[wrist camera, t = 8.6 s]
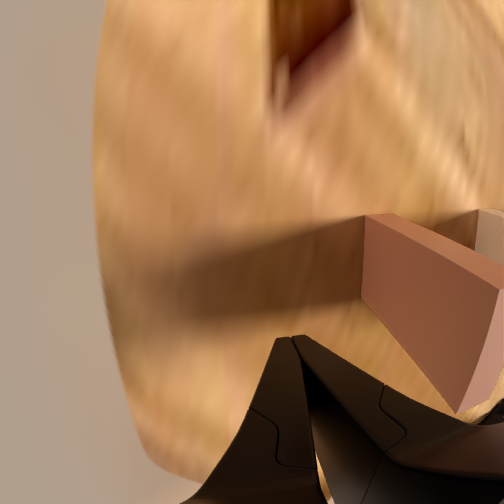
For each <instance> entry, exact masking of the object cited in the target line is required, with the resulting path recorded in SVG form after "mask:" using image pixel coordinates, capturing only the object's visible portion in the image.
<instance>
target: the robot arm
mask: <svg viewBox="0 0 504 504" xmlns="http://www.w3.org/2000/svg"><path fill="white" fill-rule="evenodd" d="M315 451H316V454H317V457H318V460H319V462H320V465H321V468H322V470H323V473H324V476H325V479H326V481H327V484H328V487H329V489H330V492H331V495H332V498H333V500H334V503H335V504H504V400H503V401H502V402H501V403H500V404H499V405H498V407H497V408H496V409H495V410H494V411H493V412H492V413H491V414H490V415H489V416H488V417H487V418H486V419H485V421H484V422H483V423H482V424H481V425H473V424H469V423H466V422H463V421H461V420H458V419H456V418H453V417H451V416H449V415H446V414H444V413H442V412H439V411H437V410H434V409H432V408H430V407H428V406H425V405H423V404H421V403H419V402H417V401H415V400H413V399H411V398H409V397H407V396H405V395H403V394H401V393H400V392H398V391H396V390H394V389H393V388H391V387H389V386H388V385H385V386H384V383H382V382H381V381H379V380H377V379H376V378H374V377H372V376H371V375H369V374H367V373H366V372H364V371H363V370H361V369H359V368H358V367H356V366H354V365H353V364H351V363H349V362H348V361H346V360H345V359H343V358H341V357H340V356H338V355H337V354H335V353H333V352H332V351H330V350H329V349H327V348H325V347H324V346H322V345H321V344H319V343H318V342H316V341H314V340H313V339H311V338H310V337H308V336H307V335H296V336H292V337H291V338H290V337H281V338H276V339H275V342H274V344H273V347H272V350H271V352H270V355H269V358H268V360H267V363H266V366H265V368H264V371H263V373H262V376H261V378H260V381H259V383H258V386H257V389H256V391H255V394H254V396H253V399H252V401H251V403H250V406H249V409H248V410H247V413H246V415H245V418H244V420H243V422H242V424H241V426H240V428H239V431H238V433H237V434H236V436H235V438H234V439H233V441H232V443H231V444H230V446H229V448H228V449H227V451H226V452H225V454H224V455H223V457H222V458H221V460H220V461H219V463H218V464H217V465H216V467H215V468H214V470H213V471H212V473H211V474H210V476H209V477H208V478H207V480H206V481H205V483H204V484H203V485H202V486H201V488H200V489H199V490H198V491H197V492H196V493H195V494H194V495H193V496H192V497H190V498H189V499H188V500H186V501H184V502H182V503H180V504H328V503H327V501H326V499H325V496H324V494H323V492H322V490H321V486H320V482H319V476H318V471H317V470H318V468H317V461H316V454H315Z"/></svg>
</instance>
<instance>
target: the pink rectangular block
mask: <svg viewBox="0 0 504 504" xmlns="http://www.w3.org/2000/svg"><path fill="white" fill-rule="evenodd" d="M361 299H362V300H363V301H364V302H365V303H366V305H367V306H368V307H369V308H370V309H371V310H372V312H373V313H374V314H375V315H376V316H377V317H378V319H379V320H380V321H381V322H382V323H383V324H384V326H385V327H386V328H387V329H388V330H389V332H390V333H391V334H392V335H393V336H394V337H395V339H396V340H397V341H398V342H399V343H400V345H401V346H402V347H403V348H404V349H405V351H406V352H407V353H408V354H409V356H410V357H411V358H412V359H413V360H414V362H415V363H416V364H417V365H418V367H419V368H420V369H421V370H422V372H423V373H424V374H425V375H426V377H427V378H428V379H429V380H430V382H431V383H432V384H433V385H434V387H435V388H436V389H437V390H438V392H439V393H440V394H441V396H442V397H443V398H444V399H445V401H446V402H447V403H448V405H449V406H450V407H451V409H452V410H453V411H454V412H455V414H459V413H461V412H463V411H465V410H468V409H470V408H472V407H474V406H476V405H478V404H480V403H482V402H485V401H487V400H489V398H490V396H491V394H492V392H493V390H494V387H495V385H496V383H497V381H498V378H499V376H500V374H501V371H502V369H503V367H504V266H503V265H501V264H499V263H497V262H495V261H493V260H491V259H489V258H487V257H485V256H483V255H481V254H479V253H477V252H475V251H473V250H471V249H469V248H467V247H465V246H463V245H461V244H459V243H457V242H455V241H453V240H451V239H449V238H446V237H444V236H442V235H440V234H438V233H436V232H433V231H431V230H429V229H427V228H425V227H422V226H420V225H418V224H416V223H413V222H411V221H409V220H406V219H404V218H402V217H399V216H397V215H395V214H379V215H365V235H364V257H363V274H362V288H361Z"/></svg>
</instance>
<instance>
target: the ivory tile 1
mask: <svg viewBox="0 0 504 504" xmlns="http://www.w3.org/2000/svg"><path fill="white" fill-rule="evenodd" d="M474 251H475V252H477V253H479V254H481V255H483V256H485V257H487V258H489V259H491V260H493V261H495V262H497V263H499V264H501V265H503V266H504V212H502V211H499V210H496V209H479V211H478V223H477V233H476V242H475V250H474Z"/></svg>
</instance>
